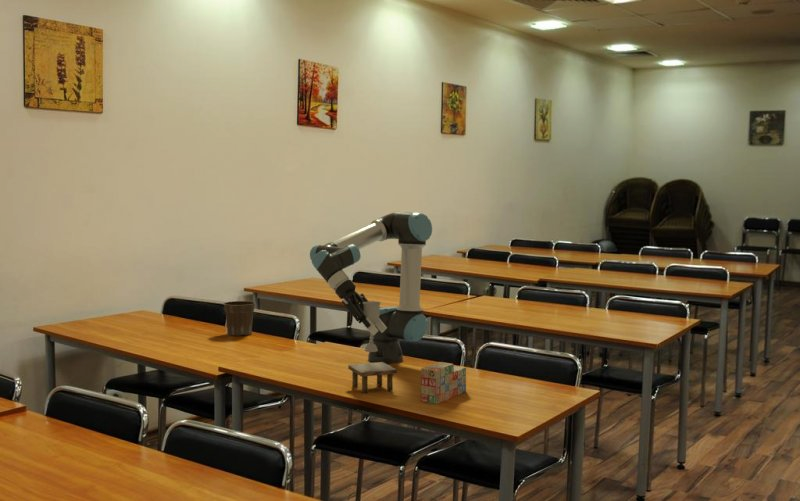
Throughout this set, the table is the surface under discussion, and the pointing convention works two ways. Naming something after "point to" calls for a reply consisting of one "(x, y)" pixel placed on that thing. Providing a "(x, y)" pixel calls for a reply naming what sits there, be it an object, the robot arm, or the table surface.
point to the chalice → (373, 314)
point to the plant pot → (239, 317)
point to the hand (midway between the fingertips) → (380, 331)
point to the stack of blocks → (442, 382)
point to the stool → (372, 374)
